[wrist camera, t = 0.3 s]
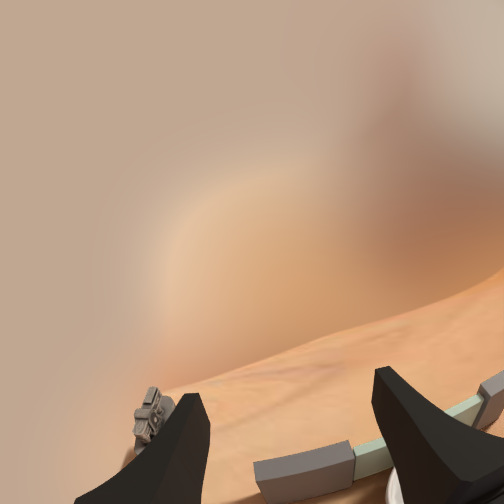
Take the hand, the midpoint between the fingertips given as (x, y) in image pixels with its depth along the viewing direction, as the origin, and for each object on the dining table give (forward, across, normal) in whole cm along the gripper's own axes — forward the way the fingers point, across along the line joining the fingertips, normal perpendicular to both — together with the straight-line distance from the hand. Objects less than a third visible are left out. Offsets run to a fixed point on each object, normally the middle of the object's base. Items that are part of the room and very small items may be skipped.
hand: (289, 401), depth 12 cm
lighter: (+10, +13, +20) cm, 26 cm away
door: (+7, -12, +19) cm, 23 cm away
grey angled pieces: (+6, -10, +19) cm, 23 cm away
